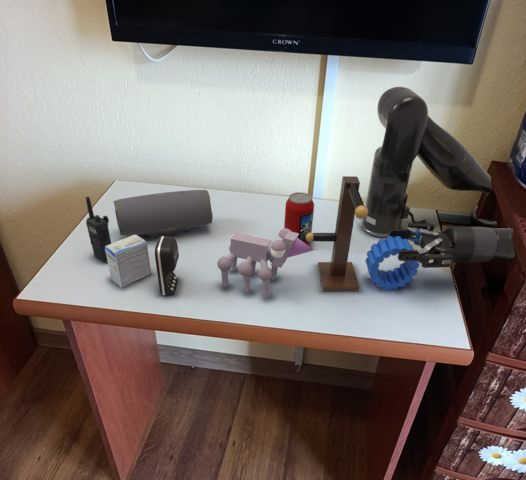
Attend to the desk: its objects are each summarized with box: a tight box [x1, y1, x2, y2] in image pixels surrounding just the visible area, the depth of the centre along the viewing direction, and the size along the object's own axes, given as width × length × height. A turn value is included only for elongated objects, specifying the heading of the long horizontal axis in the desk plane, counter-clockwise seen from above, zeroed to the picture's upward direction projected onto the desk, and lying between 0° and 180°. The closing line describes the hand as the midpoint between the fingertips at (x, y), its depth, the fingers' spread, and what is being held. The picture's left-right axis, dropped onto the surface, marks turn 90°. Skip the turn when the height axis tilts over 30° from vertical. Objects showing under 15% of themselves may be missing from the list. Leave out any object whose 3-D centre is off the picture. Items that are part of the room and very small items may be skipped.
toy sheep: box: [217, 228, 314, 298], centre depth 107 cm, size 20×11×14 cm, turn 70°
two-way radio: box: [85, 196, 112, 263], centre depth 114 cm, size 6×4×15 cm
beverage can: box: [283, 191, 315, 246], centre depth 122 cm, size 7×7×12 cm
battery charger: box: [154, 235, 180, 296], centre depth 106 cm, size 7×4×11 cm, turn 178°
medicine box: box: [105, 234, 152, 288], centre depth 110 cm, size 8×4×9 cm, turn 134°
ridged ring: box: [365, 236, 420, 291], centre depth 110 cm, size 5×10×11 cm, turn 92°
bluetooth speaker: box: [113, 189, 214, 237], centre depth 125 cm, size 23×9×10 cm, turn 108°
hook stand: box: [306, 175, 368, 292], centre depth 104 cm, size 17×12×23 cm
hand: (393, 244), depth 107 cm, fingers open, 8 cm apart
